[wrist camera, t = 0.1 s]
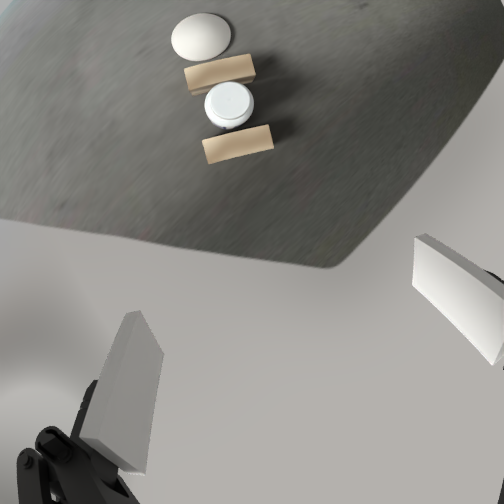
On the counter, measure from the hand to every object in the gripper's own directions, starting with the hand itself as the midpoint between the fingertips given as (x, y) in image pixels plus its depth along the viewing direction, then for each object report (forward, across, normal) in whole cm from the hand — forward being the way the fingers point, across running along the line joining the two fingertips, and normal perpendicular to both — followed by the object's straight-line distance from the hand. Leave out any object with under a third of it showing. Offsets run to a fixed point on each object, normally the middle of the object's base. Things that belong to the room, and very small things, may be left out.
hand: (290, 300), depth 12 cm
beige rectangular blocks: (+28, +1, +11) cm, 30 cm away
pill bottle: (+28, +1, +11) cm, 30 cm away
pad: (+28, 0, +23) cm, 36 cm away
